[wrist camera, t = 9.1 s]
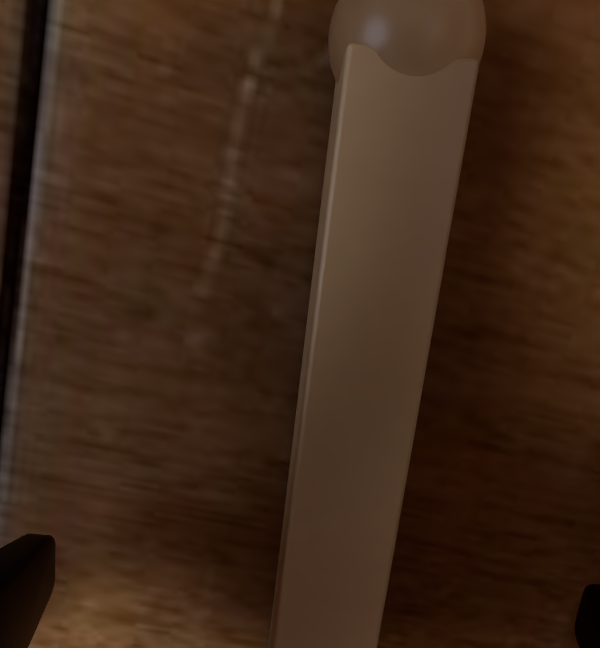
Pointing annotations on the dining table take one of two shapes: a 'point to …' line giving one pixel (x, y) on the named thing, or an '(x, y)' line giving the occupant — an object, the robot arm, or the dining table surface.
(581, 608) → the robot arm
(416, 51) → the beige rounded rod
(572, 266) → the dining table surface
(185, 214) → the dining table surface
